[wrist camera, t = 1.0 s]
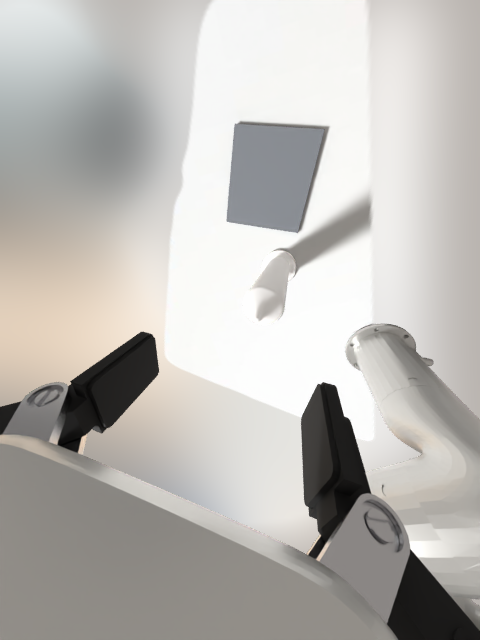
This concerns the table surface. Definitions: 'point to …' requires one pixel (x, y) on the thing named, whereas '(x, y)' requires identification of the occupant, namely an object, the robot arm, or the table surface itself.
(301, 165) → the mat
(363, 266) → the table surface
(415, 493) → the robot arm
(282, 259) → the candle
